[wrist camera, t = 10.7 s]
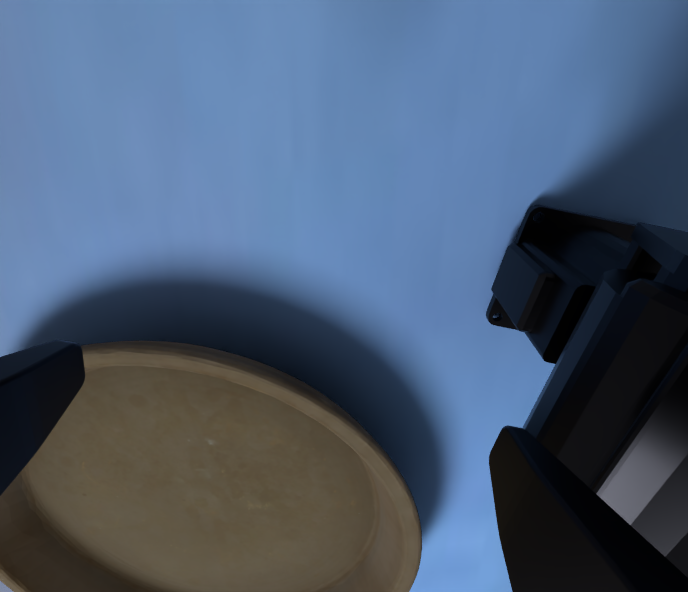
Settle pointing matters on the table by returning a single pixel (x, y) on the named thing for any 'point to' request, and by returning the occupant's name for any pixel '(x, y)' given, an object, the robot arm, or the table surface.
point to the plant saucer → (205, 485)
